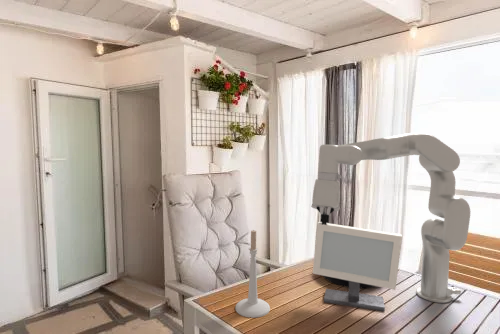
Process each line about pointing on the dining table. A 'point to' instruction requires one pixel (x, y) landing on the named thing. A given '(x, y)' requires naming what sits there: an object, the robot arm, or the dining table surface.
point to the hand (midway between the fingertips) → (324, 224)
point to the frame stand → (354, 298)
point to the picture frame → (357, 254)
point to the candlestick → (252, 289)
